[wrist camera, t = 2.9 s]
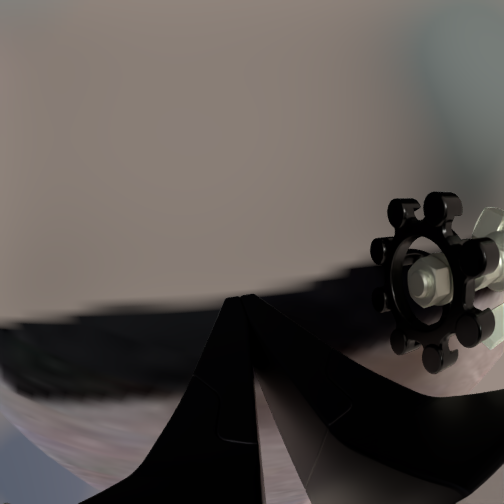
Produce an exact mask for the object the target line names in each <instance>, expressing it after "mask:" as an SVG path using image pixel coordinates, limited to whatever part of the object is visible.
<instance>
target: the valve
mask: <svg viewBox="0 0 504 504" xmlns="http://www.w3.org/2000/svg"><path fill="white" fill-rule="evenodd" d="M420 207H421V206H420V204H419V203H418V201H417V200H415V199H413V198H405V199H404V198H400V199H399V198H397V199H393V200H391V202H390V203H389V205H388V210H387V214H388V219H389V222H390V224H391V225H392V226H393V227H394V228H395V235H394V237H383V238H375V239H374V240H373V241H372V243H371V246H370V254H371V258H372V260H373V261H374V262H375V263H376V264H378V265H382V266H383V268H384V272H385V285H384V286H382V287H377V288H375V289H374V291H373V293H372V303H373V306H374V308H375V310H376V311H377V312H379V313H383V312H387V311H391V312H392V314H393V316H394V318H395V320H396V325H397V327H396V329H395V330H394V331H393V332H392V334H391V337H390V343H391V347H392V349H393V351H394V352H395V353H396V354H397V355H403V354H406V353H409V352H411V351H414V350H416V349H418V348H419V347H420V346H421V344H422V346H423V348H424V350H423V354H422V361H423V365H424V367H425V369H426V370H427V371H428V372H429V373H431V374H437V373H439V372H441V371H442V370H444V369H446V368H448V367H450V366H452V365H453V364H454V363H455V362H456V360H457V358H458V350H457V349H456V350H453V351H450V350H449V347H448V340H449V338H450V337H452V336H453V335H455V334H456V336H457V339H458V341H459V342H460V343H461V344H462V345H463V346H464V347H467V348H472V347H475V346H476V345H478V344H479V343H481V342H483V341H484V340H486V339H487V338H489V337H490V336H491V335H492V333H493V332H494V329H495V317H494V314H493V312H492V311H491V309H490V308H487V309H485V310H483V311H481V310H480V309H477V308H475V307H474V306H473V302H474V295H475V291H477V290H479V289H481V288H484V287H486V286H487V287H488V288H490V289H491V290H493V291H497V292H502V291H504V211H503V210H501V209H499V208H494V207H487V208H485V209H484V210H483V212H482V213H481V215H480V216H479V218H478V220H477V222H476V224H475V227H474V230H473V234H472V239H462V240H461V239H460V237H459V236H458V235H457V234H456V233H455V232H454V231H453V230H452V229H451V225H452V221H453V219H454V216H460V215H462V213H463V209H462V208H463V207H462V203H461V200H460V199H459V197H458V196H457V195H456V194H455V193H452V192H431V193H429V194H428V195H427V196H426V198H425V200H424V205H423V210H424V216H425V217H424V219H423V220H418V219H417V218H416V217H415V215H414V211H416V210H418V209H419V208H420ZM421 236H423V237H426V238H428V239H430V240H432V241H433V242H434V243H435V244H437V245H438V247H439V248H440V249H441V251H442V252H438V253H432V254H430V253H428V252H425V251H422V250H417V249H408V248H409V247H410V245H411V244H412V242H414V241H415V240H416V239H417V238H419V237H421ZM410 264H413V265H412V267H411V268H410V269H409V271H408V288H409V293H410V296H411V297H412V298H413V300H414V301H415V302H416V303H417V304H419V305H420V306H421V307H423V308H426V307H429V306H432V305H436V306H442V305H443V313H442V316H441V318H440V320H439V321H438V322H436V323H434V324H431V325H427V324H425V323H423V322H421V321H420V320H419V319H418V318H417V317H416V316H415V315H414V313H413V312H412V310H411V308H410V306H409V304H408V302H407V299H406V296H405V293H404V288H403V280H402V272H403V266H405V265H410Z"/></svg>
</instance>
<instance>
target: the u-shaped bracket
mask: <svg viewBox="0 0 504 504" xmlns="http://www.w3.org/2000/svg"><path fill="white" fill-rule="evenodd" d="M492 312H493V314H494V317H495V329H494V332H493V333H492V335H491V336H490V337H489V338H487V339H486V340H484V341H483V343H484V344H485V345H486V346H487V347H488V348H489V350H491V349H493V348H494V347H495V346H497V345H498V344H499V343H501V342H502V341H503V340H504V303H503V304H501V305H500V306H498V307H496V308H495V309H493V310H492Z"/></svg>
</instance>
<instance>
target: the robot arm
mask: <svg viewBox="0 0 504 504" xmlns="http://www.w3.org/2000/svg"><path fill="white" fill-rule="evenodd" d="M253 367H254V370H255V373H256V376H257V378H258V381H259V383H260V386H261V388H262V391H263V393H264V396H265V398H266V401H267V403H268V405H269V408H270V410H271V413H272V415H273V418H274V420H275V422H276V425H277V427H278V429H279V432H280V434H281V436H282V439H283V441H284V443H285V446H286V448H287V450H288V453H289V455H290V457H291V459H292V462H293V464H294V466H295V468H296V471H297V473H298V475H299V477H300V479H301V482H302V484H303V486H304V488H305V489H306V493H307V495H308V497H309V499H310V501H311V503H312V504H504V389H501V390H496V391H490V392H484V393H478V394H470V395H462V396H452V397H432V396H427V395H423V394H420V393H418V392H415V391H413V390H411V389H408V388H406V387H404V386H402V385H400V384H398V383H396V382H394V381H391V380H389V379H387V378H385V377H383V376H381V375H379V374H377V373H375V372H373V371H371V370H369V369H367V368H365V367H364V366H362V365H360V364H358V363H356V362H355V361H353V360H351V359H350V358H348V357H346V356H345V355H343V354H342V353H340V352H339V351H337V350H336V349H334V348H332V349H331V346H329V345H328V344H326V343H325V342H323V341H322V340H320V339H319V338H318V337H316V336H315V335H313V334H312V333H310V332H309V331H307V330H306V329H304V328H303V327H301V326H300V325H298V324H297V323H295V322H294V321H293V320H291V319H290V318H288V317H287V316H285V315H284V314H282V313H281V312H279V311H278V310H277V309H275V308H274V307H272V306H271V305H269V304H268V303H267V302H265V301H264V300H262V299H261V298H260V297H258V296H257V295H255V294H248V295H242V296H241V297H238V296H236V297H229V298H226V299H225V301H224V303H223V305H222V308H221V310H220V312H219V314H218V317H217V319H216V321H215V324H214V326H213V328H212V331H211V333H210V335H209V338H208V340H207V342H206V345H205V347H204V349H203V352H202V354H201V356H200V359H199V361H198V363H197V366H196V368H195V370H194V373H193V376H192V377H191V379H190V382H189V384H188V386H187V388H186V391H185V393H184V395H183V397H182V399H181V401H180V403H179V405H178V406H177V408H176V410H175V412H174V413H173V415H172V417H171V419H170V420H169V422H168V423H167V425H166V427H165V428H164V430H163V431H162V433H161V435H160V436H159V438H158V439H157V441H156V443H155V444H154V446H153V447H152V449H151V450H150V452H149V454H148V455H147V457H146V458H145V460H144V461H143V462H142V464H141V465H140V466H139V467H138V468H137V469H136V470H135V471H134V472H133V473H132V474H131V475H130V476H128V477H127V478H125V479H124V480H122V481H120V482H118V483H117V484H115V485H113V486H111V487H109V488H108V489H106V490H104V491H102V492H100V493H98V494H96V495H94V496H93V497H90V498H88V499H86V500H85V501H82V502H80V503H78V504H266V497H265V487H264V478H263V468H262V458H261V448H260V438H259V427H258V417H257V407H256V396H255V385H254V374H253ZM4 504H9V503H4Z"/></svg>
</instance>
